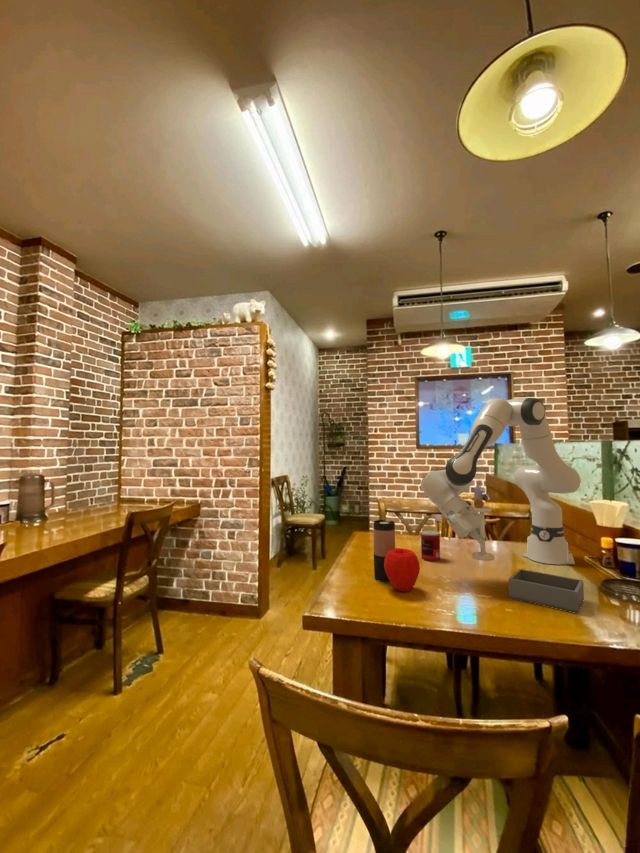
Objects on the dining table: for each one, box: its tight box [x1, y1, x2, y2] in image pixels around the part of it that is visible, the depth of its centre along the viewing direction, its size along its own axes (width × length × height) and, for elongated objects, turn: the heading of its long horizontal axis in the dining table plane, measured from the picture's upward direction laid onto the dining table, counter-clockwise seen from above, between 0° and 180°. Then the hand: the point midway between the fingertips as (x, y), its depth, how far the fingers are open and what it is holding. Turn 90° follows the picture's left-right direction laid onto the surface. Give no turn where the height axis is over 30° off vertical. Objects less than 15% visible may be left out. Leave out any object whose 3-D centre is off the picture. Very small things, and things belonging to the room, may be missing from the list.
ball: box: [473, 498, 485, 508], centre depth 135 cm, size 3×3×3 cm
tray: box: [508, 568, 585, 614], centre depth 122 cm, size 13×18×6 cm
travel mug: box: [373, 519, 396, 583], centre depth 141 cm, size 8×8×20 cm
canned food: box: [420, 530, 441, 562], centre depth 165 cm, size 8×8×11 cm
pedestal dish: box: [471, 505, 495, 562], centre depth 135 cm, size 7×7×17 cm
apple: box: [384, 547, 421, 593], centre depth 130 cm, size 12×12×13 cm
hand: (484, 541), depth 134 cm, fingers closed on pedestal dish
